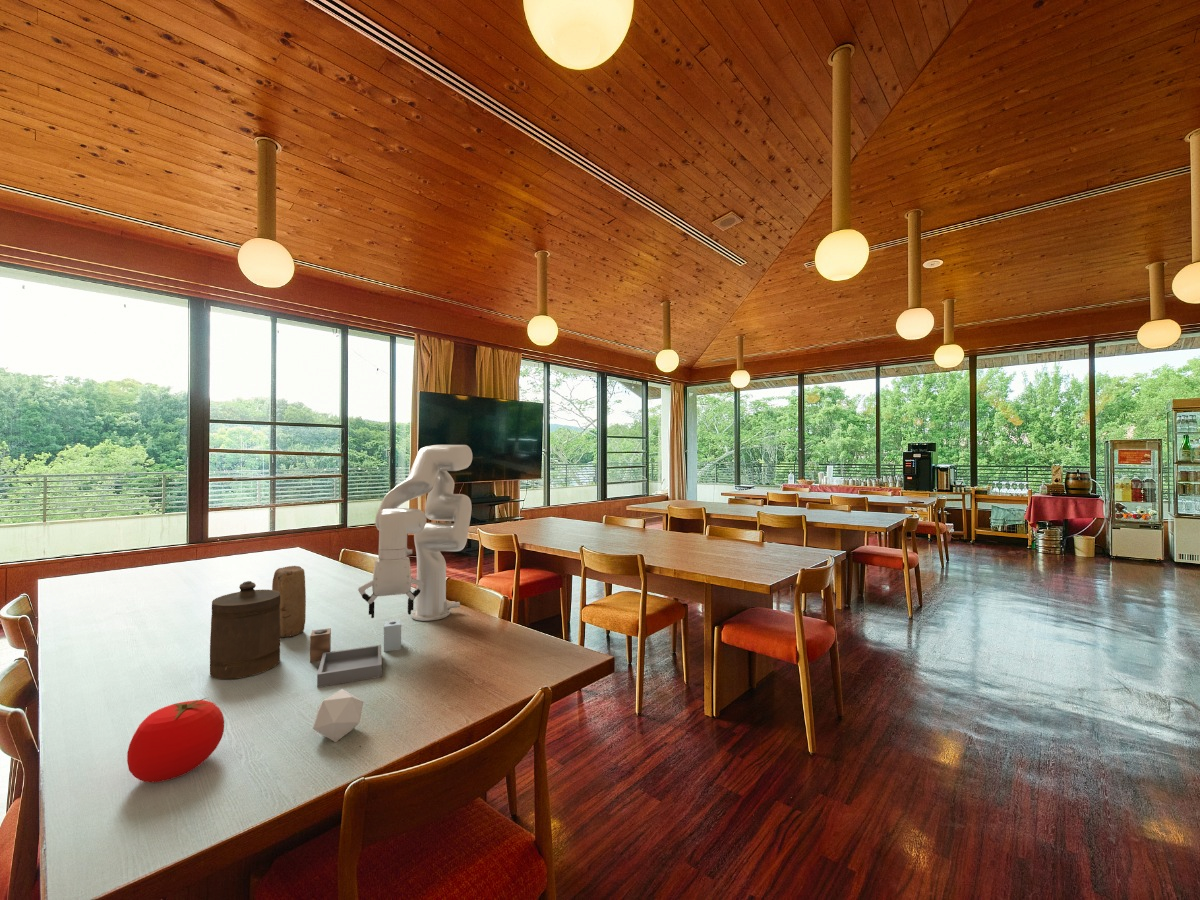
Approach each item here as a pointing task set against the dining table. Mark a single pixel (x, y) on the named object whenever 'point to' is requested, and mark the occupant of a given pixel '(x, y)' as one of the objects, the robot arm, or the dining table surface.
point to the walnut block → (319, 643)
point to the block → (291, 599)
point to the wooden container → (245, 632)
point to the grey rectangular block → (392, 635)
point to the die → (338, 715)
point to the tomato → (175, 740)
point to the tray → (350, 665)
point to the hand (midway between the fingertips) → (391, 614)
